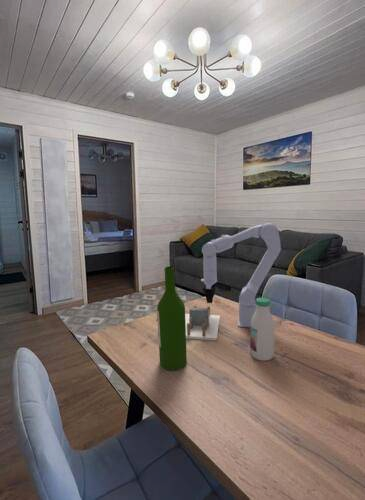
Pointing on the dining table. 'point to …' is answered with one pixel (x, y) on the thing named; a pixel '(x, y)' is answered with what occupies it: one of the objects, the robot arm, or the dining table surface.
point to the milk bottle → (262, 331)
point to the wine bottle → (171, 326)
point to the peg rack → (202, 328)
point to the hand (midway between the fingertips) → (210, 299)
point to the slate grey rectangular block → (199, 316)
